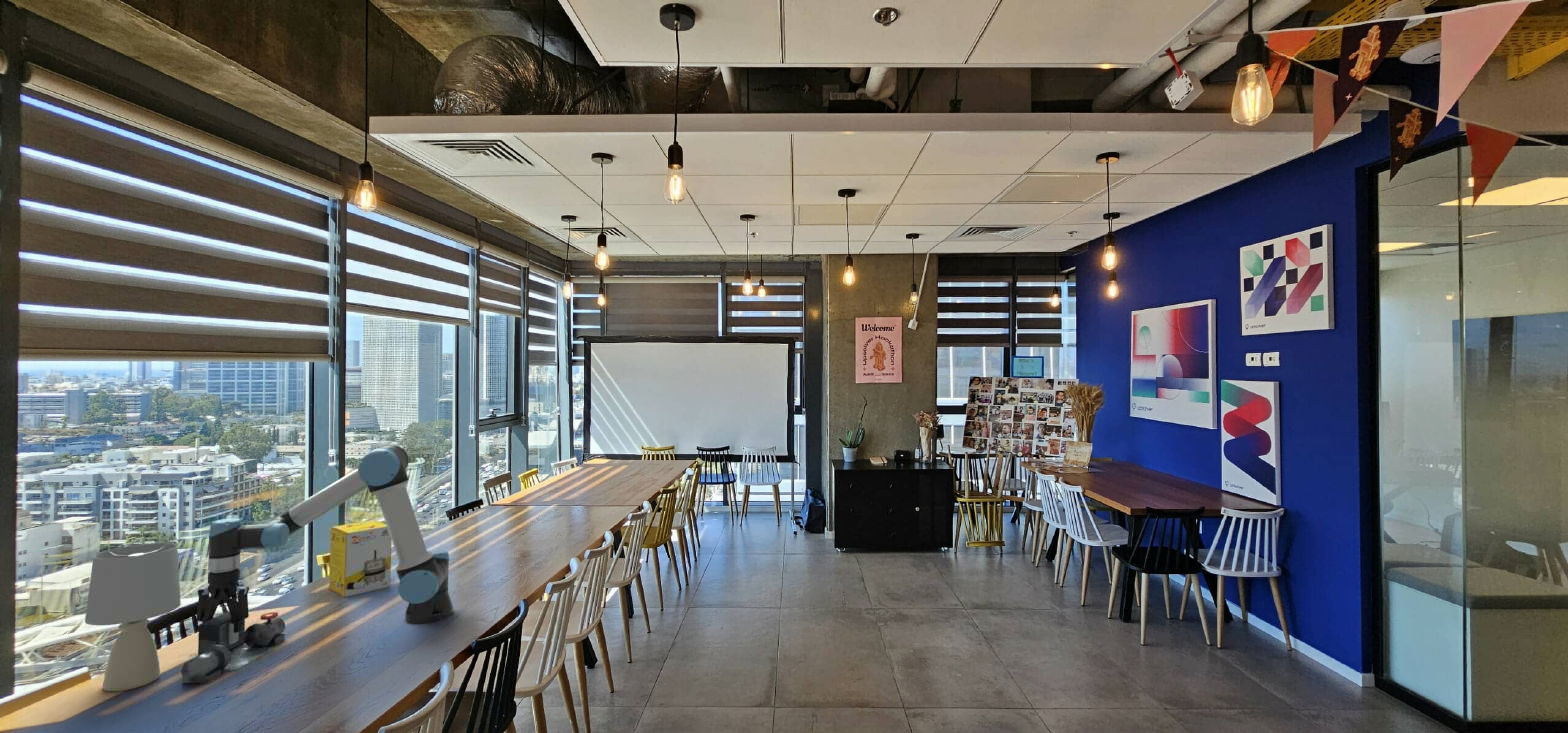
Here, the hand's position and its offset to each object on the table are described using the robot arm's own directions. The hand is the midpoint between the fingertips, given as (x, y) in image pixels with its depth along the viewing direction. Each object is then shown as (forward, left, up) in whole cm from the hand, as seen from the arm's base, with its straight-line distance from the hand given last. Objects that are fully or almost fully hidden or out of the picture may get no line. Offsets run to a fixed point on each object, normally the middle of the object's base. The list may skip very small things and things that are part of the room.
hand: (221, 642), depth 195 cm
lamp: (+8, +20, -3) cm, 22 cm away
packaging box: (-7, -59, -3) cm, 59 cm away
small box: (0, 0, -3) cm, 3 cm away
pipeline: (-10, +7, -3) cm, 12 cm away
